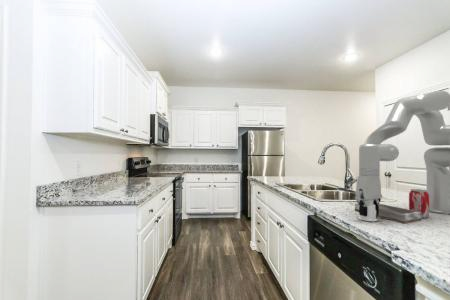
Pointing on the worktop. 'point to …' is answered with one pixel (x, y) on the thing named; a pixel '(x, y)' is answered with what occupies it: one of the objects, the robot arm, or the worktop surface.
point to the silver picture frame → (396, 214)
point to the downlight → (369, 212)
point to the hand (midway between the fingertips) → (368, 214)
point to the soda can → (419, 201)
